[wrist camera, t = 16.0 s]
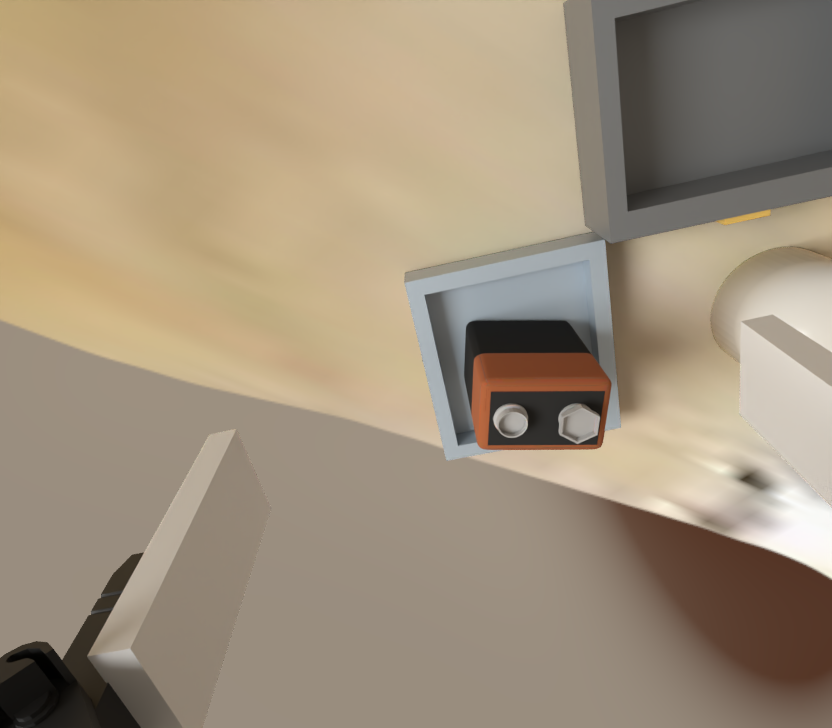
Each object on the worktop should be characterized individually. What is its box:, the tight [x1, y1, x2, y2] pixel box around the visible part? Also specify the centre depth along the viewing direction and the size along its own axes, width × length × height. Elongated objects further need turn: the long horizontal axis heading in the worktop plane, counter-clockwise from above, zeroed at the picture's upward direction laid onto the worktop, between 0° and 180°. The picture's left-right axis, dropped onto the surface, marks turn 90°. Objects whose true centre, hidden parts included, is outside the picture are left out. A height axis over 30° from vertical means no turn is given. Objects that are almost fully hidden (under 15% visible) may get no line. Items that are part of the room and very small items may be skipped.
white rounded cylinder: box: [710, 247, 832, 364], centre depth 34 cm, size 8×8×8 cm
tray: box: [405, 232, 621, 461], centre depth 38 cm, size 13×12×2 cm
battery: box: [464, 321, 612, 450], centre depth 34 cm, size 4×7×10 cm, turn 90°
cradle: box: [563, 0, 832, 244], centre depth 31 cm, size 12×15×5 cm
